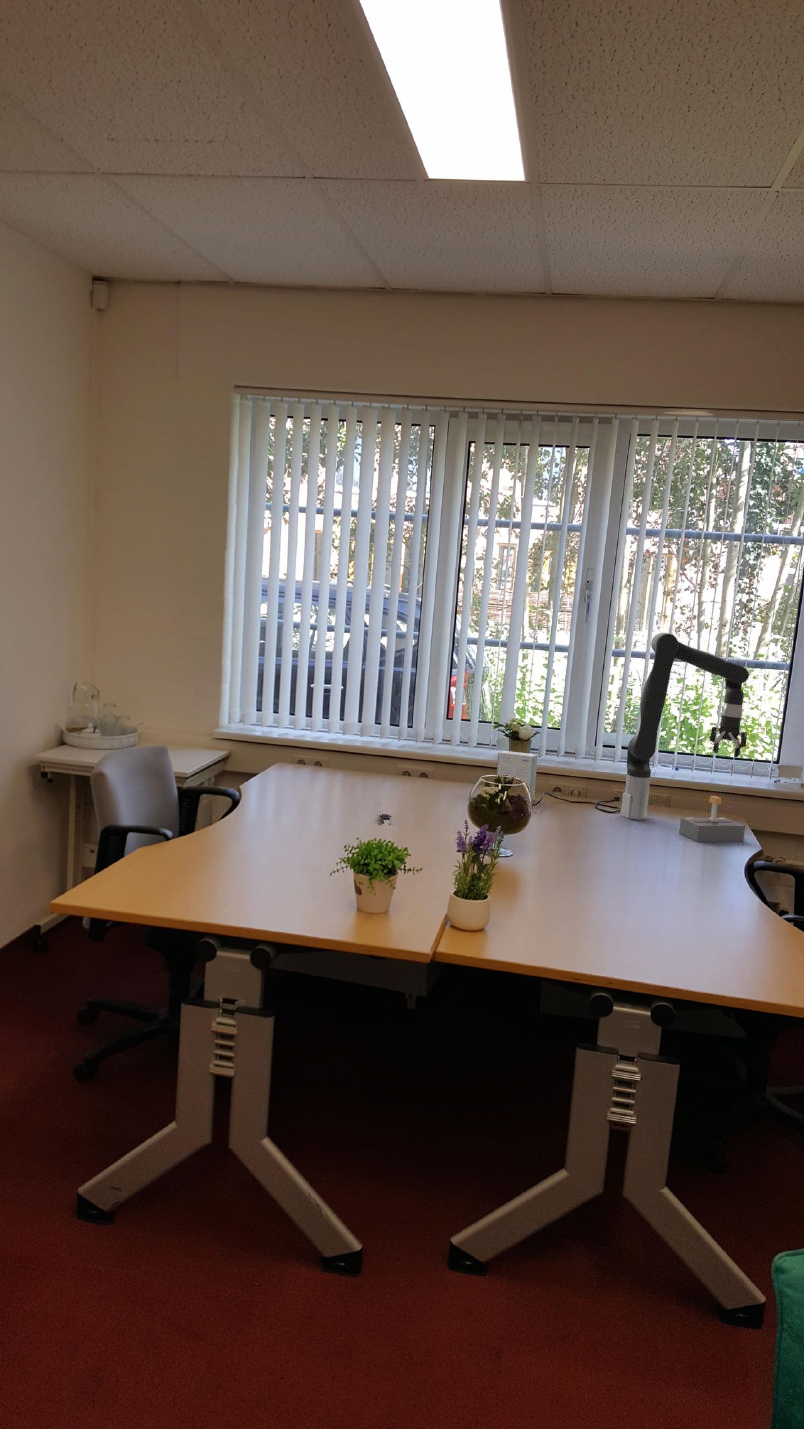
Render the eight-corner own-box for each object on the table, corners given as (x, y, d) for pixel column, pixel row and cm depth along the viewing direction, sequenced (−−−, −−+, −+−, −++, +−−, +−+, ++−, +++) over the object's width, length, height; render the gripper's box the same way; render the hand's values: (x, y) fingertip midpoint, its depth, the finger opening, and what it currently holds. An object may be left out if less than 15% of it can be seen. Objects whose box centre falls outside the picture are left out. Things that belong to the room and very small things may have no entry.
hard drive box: (534, 801, 408) (538, 754, 406) (529, 804, 401) (533, 757, 399) (499, 795, 415) (503, 749, 412) (493, 798, 408) (497, 752, 405)
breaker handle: (712, 822, 363) (715, 798, 361) (706, 819, 366) (709, 795, 365) (719, 822, 363) (722, 798, 362) (713, 820, 367) (716, 795, 366)
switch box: (697, 841, 357) (698, 825, 356) (679, 833, 369) (680, 817, 368) (743, 841, 363) (745, 825, 362) (724, 833, 374) (726, 817, 374)
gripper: (710, 712, 387) (705, 752, 389) (744, 718, 378) (738, 758, 380) (719, 712, 393) (713, 751, 395) (752, 717, 383) (747, 757, 385)
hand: (726, 755), depth 387 cm, fingers open, 8 cm apart
